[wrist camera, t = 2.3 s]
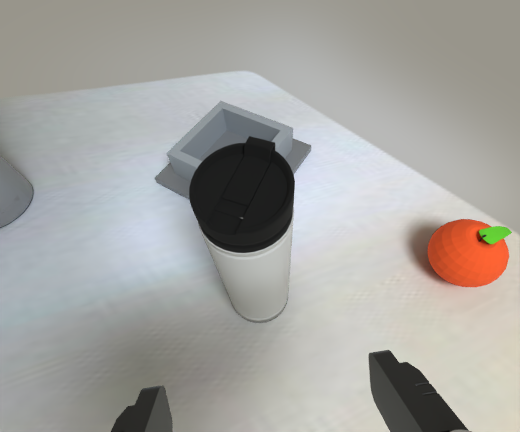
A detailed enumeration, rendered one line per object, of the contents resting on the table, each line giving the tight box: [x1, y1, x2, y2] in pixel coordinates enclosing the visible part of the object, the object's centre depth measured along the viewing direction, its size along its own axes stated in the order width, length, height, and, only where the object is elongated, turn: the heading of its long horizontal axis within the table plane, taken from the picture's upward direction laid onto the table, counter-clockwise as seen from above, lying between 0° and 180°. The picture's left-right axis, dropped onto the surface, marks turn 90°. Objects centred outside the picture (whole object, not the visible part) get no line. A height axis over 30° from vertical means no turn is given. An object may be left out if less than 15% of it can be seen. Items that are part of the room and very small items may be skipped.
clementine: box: [428, 219, 512, 287], centre depth 32 cm, size 8×7×7 cm
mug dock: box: [155, 101, 311, 200], centre depth 42 cm, size 16×16×5 cm
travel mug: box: [189, 136, 295, 323], centre depth 26 cm, size 6×7×20 cm
